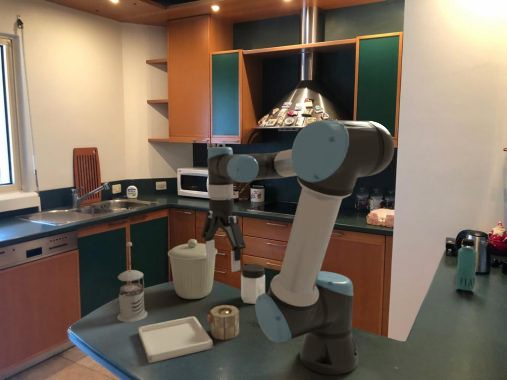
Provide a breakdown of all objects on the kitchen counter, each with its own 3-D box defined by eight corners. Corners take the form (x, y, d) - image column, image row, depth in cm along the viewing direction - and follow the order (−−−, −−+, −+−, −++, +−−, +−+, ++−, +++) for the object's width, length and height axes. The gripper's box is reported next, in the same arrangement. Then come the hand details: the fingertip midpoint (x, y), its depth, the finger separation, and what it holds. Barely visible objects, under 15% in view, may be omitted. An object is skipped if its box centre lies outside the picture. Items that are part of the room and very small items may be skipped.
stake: (230, 333, 122) (230, 312, 121) (222, 335, 121) (222, 314, 120) (227, 330, 124) (227, 309, 123) (219, 331, 123) (219, 310, 122)
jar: (251, 306, 141) (251, 273, 139) (236, 299, 147) (236, 267, 145) (269, 299, 147) (269, 267, 145) (254, 292, 153) (254, 262, 151)
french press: (110, 320, 131) (106, 245, 128) (129, 305, 142) (126, 236, 139) (138, 323, 129) (134, 247, 125) (155, 308, 140) (152, 237, 136)
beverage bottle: (456, 293, 152) (460, 241, 149) (453, 286, 158) (457, 236, 155) (476, 295, 150) (480, 242, 147) (472, 288, 156) (476, 237, 153)
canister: (160, 293, 153) (158, 238, 150) (201, 281, 165) (200, 231, 162) (185, 308, 140) (183, 249, 137) (227, 295, 151) (226, 240, 148)
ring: (242, 336, 120) (242, 313, 119) (212, 342, 117) (212, 319, 116) (232, 324, 128) (232, 303, 127) (204, 330, 124) (203, 308, 123)
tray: (212, 348, 114) (212, 341, 113) (149, 363, 106) (148, 356, 106) (194, 321, 130) (194, 316, 129) (138, 333, 122) (138, 327, 122)
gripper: (256, 201, 116) (257, 272, 119) (209, 192, 135) (210, 254, 138) (235, 204, 112) (237, 278, 114) (189, 195, 131) (191, 258, 133)
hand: (222, 265), depth 126 cm, fingers open, 13 cm apart
